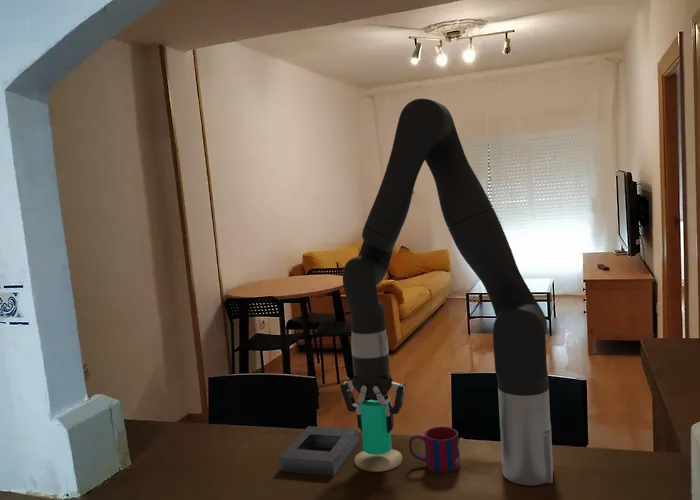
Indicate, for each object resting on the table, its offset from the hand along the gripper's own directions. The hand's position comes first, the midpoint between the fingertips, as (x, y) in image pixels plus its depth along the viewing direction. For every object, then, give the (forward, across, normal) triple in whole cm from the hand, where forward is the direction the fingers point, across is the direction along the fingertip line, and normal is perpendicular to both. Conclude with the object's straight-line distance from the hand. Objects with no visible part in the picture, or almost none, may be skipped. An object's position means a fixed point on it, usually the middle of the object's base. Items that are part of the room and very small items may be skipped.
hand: (376, 430), depth 126 cm
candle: (+4, 0, 0) cm, 4 cm away
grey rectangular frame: (+7, +13, 0) cm, 14 cm away
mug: (+7, -12, 0) cm, 14 cm away
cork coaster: (+6, 0, 0) cm, 6 cm away
